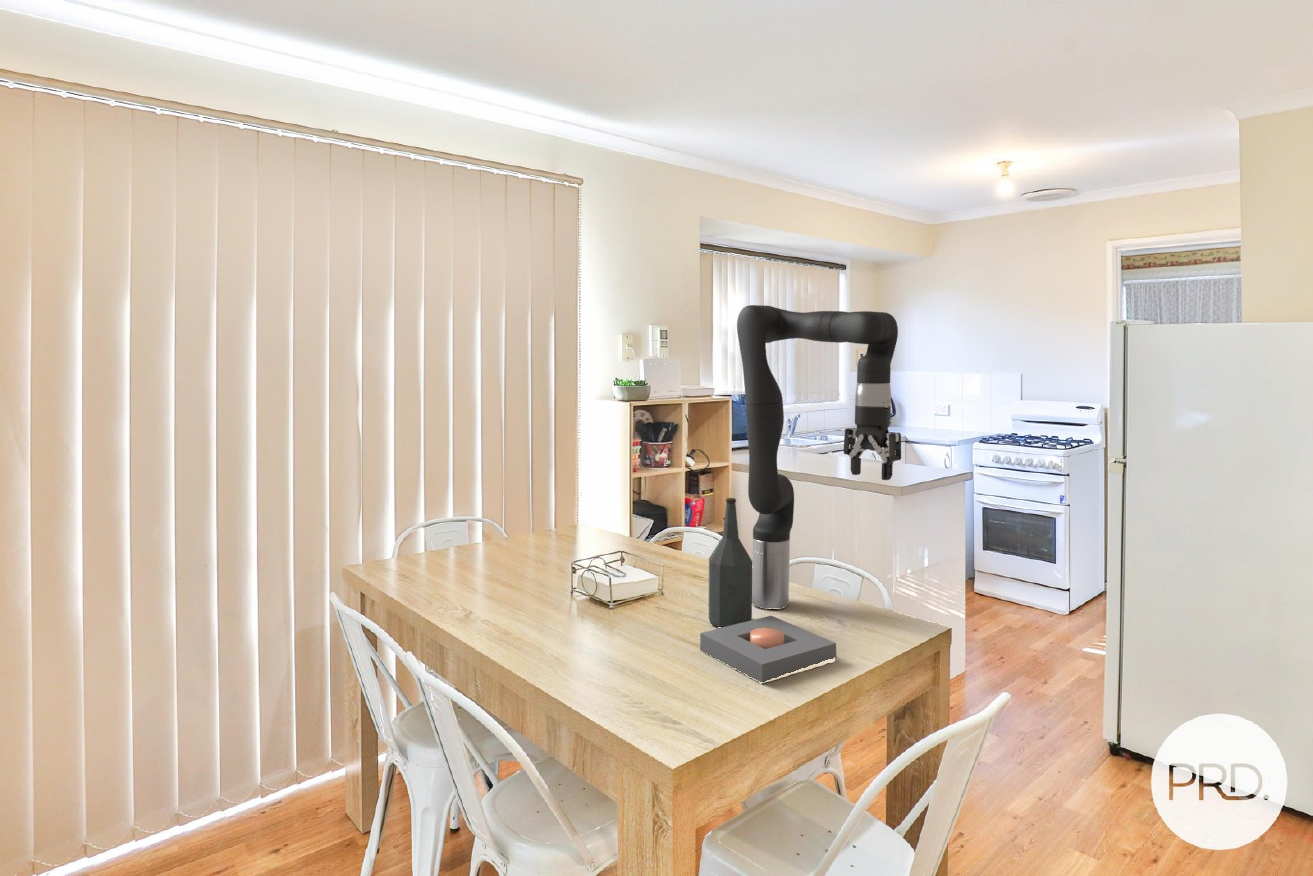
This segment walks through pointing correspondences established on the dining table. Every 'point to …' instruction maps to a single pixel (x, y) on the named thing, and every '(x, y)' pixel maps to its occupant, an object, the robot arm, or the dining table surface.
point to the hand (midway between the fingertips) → (870, 477)
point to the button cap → (766, 637)
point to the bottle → (730, 576)
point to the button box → (769, 662)
